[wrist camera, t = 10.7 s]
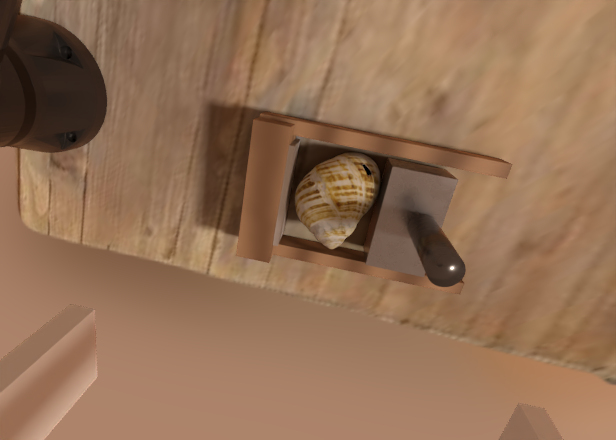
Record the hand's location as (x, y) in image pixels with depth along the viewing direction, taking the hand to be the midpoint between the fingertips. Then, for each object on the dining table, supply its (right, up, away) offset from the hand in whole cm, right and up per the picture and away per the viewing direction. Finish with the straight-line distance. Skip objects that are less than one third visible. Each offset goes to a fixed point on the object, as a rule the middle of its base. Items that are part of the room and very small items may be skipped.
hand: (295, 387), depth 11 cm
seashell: (+4, +9, +34) cm, 35 cm away
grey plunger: (+12, +6, +33) cm, 36 cm away
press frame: (+8, +7, +34) cm, 35 cm away
